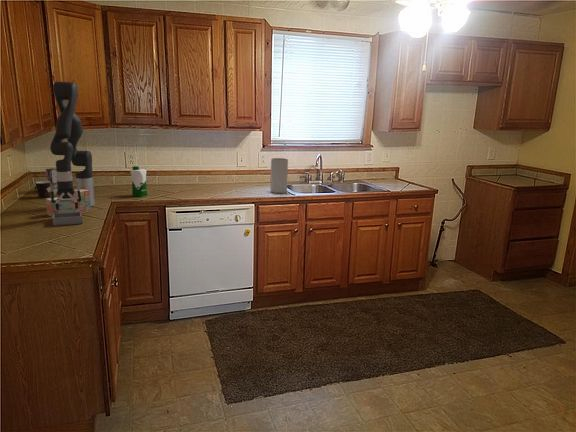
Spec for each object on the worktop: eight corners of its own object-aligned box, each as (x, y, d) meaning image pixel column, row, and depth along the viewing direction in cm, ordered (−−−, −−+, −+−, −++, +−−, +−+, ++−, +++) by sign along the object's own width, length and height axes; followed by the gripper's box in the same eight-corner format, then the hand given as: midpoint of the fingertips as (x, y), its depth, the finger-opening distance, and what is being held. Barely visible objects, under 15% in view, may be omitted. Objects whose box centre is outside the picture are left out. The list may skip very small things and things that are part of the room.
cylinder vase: (267, 192, 321) (268, 159, 315) (274, 189, 332) (275, 157, 326) (283, 194, 317) (284, 160, 310) (289, 191, 328) (290, 158, 322)
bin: (53, 221, 223) (53, 213, 222) (82, 219, 229) (81, 211, 228) (53, 226, 214) (52, 218, 213) (82, 223, 220) (81, 216, 219)
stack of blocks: (52, 217, 232) (49, 194, 229) (47, 215, 235) (44, 193, 232) (90, 211, 248) (89, 190, 245) (85, 209, 251) (84, 188, 248)
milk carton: (138, 194, 298) (137, 165, 293) (149, 195, 295) (148, 166, 291) (130, 196, 290) (128, 167, 285) (141, 197, 287) (139, 168, 282)
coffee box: (63, 192, 295) (61, 169, 291) (53, 193, 290) (51, 170, 286) (56, 190, 300) (54, 167, 296) (47, 191, 295) (44, 168, 291)
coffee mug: (47, 195, 283) (45, 180, 281) (54, 197, 279) (53, 182, 277) (29, 198, 273) (27, 182, 271) (36, 200, 269) (35, 184, 267)
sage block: (63, 217, 232) (61, 199, 230) (72, 216, 234) (71, 198, 232) (63, 219, 228) (61, 200, 225) (72, 218, 230) (71, 200, 227)
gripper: (79, 178, 232) (81, 207, 236) (49, 179, 226) (52, 209, 230) (79, 180, 226) (82, 210, 229) (49, 181, 219) (52, 212, 223)
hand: (67, 209), depth 230 cm, fingers open, 8 cm apart
